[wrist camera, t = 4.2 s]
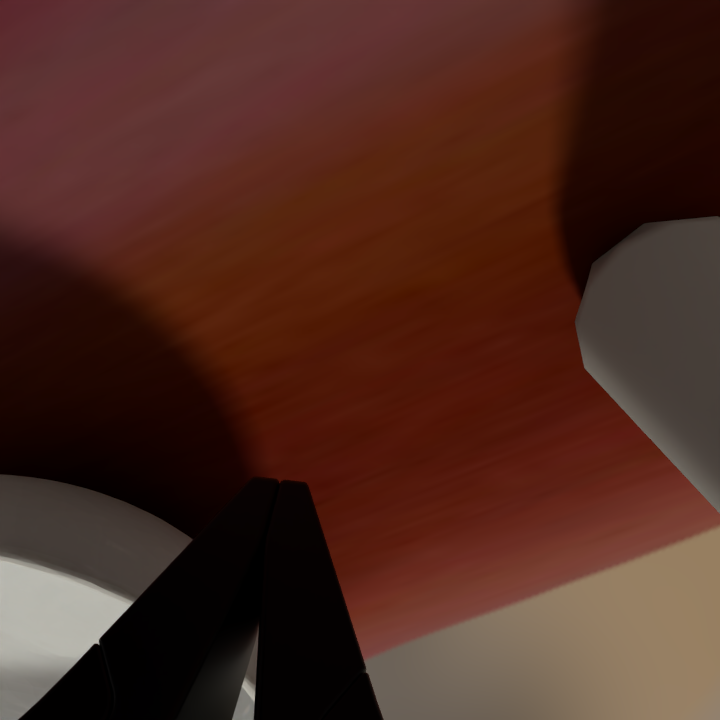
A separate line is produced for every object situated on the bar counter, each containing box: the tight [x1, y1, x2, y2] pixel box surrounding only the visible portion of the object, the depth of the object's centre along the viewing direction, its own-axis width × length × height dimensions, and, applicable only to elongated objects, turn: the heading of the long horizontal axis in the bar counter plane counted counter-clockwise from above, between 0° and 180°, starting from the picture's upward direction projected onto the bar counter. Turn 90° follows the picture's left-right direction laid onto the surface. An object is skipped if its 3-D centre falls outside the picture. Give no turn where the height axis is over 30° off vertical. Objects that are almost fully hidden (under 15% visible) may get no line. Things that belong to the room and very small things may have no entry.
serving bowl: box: [0, 475, 259, 720], centre depth 25 cm, size 21×21×7 cm
